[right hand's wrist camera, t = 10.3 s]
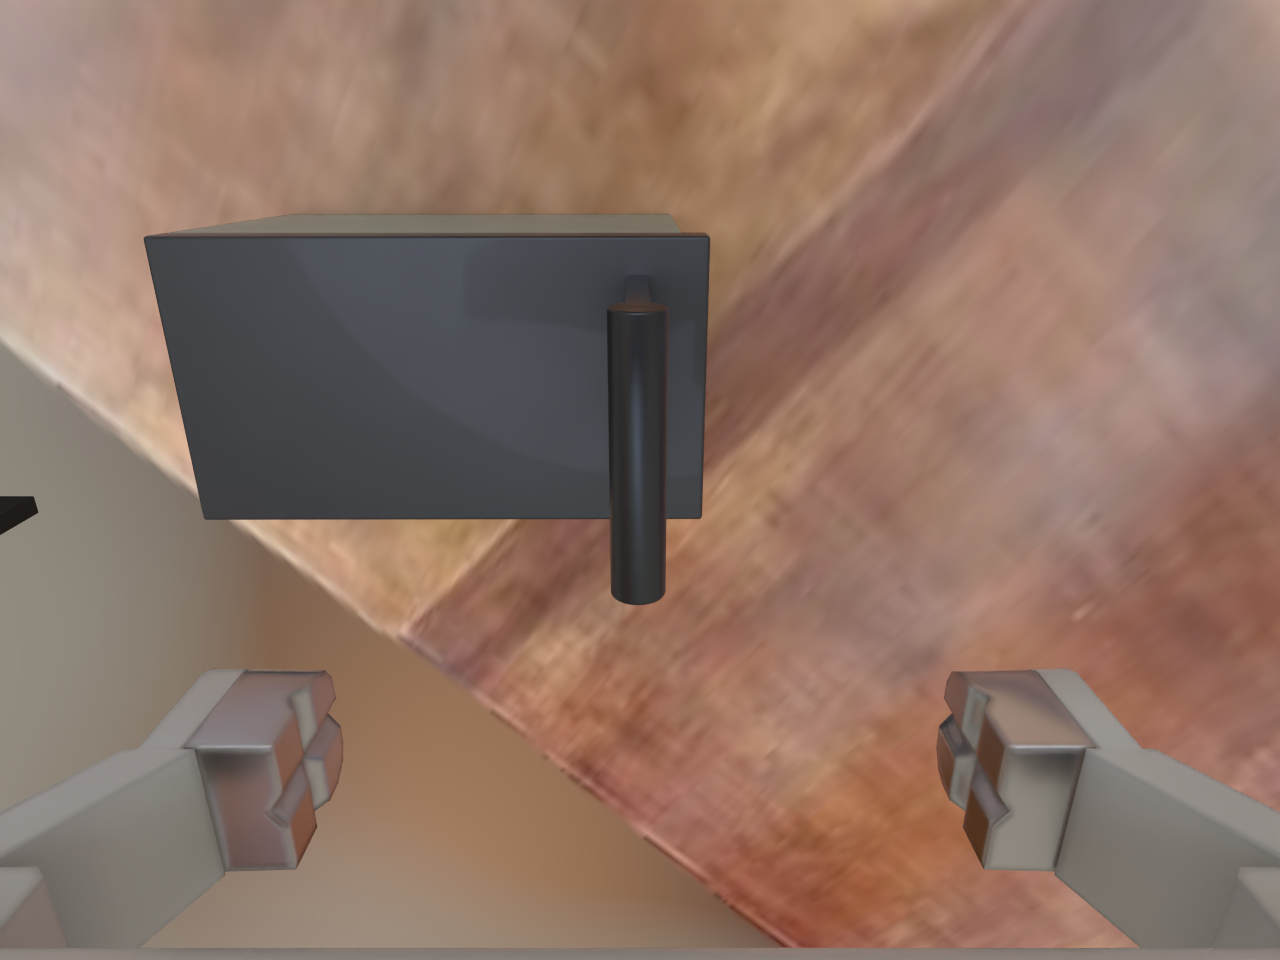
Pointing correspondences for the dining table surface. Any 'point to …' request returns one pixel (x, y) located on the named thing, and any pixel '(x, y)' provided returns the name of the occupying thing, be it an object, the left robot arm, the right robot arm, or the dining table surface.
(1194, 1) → the dining table surface
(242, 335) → the lid
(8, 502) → the left robot arm
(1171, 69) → the dining table surface
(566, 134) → the dining table surface
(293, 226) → the chest
